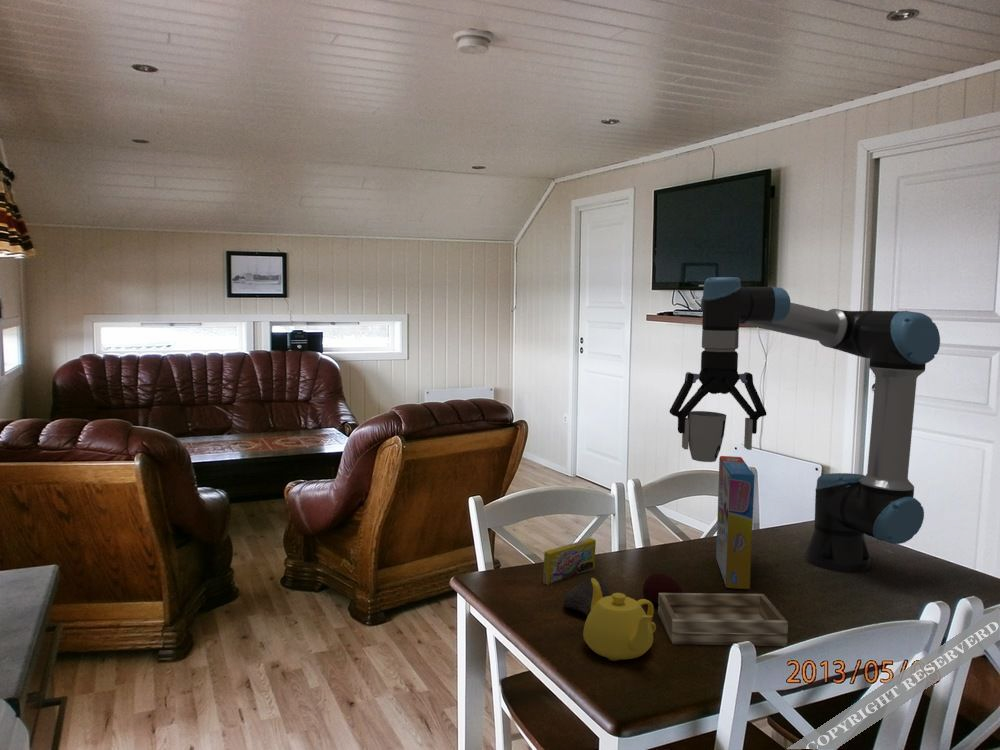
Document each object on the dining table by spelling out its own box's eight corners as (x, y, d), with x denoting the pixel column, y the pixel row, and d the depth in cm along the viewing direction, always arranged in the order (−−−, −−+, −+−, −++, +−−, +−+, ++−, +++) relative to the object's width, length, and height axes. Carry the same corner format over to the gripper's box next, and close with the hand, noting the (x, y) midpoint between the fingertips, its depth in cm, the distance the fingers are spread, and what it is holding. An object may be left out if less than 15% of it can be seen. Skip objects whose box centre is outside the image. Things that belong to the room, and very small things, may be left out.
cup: (726, 464, 157) (729, 417, 156) (686, 462, 158) (690, 415, 157) (719, 456, 165) (722, 412, 164) (682, 454, 166) (685, 410, 165)
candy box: (548, 588, 173) (548, 553, 172) (542, 585, 174) (542, 551, 174) (595, 571, 183) (596, 539, 182) (589, 569, 185) (589, 536, 184)
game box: (750, 590, 172) (755, 474, 169) (725, 589, 173) (730, 473, 170) (737, 559, 192) (741, 455, 189) (715, 558, 193) (719, 455, 190)
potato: (680, 613, 159) (681, 582, 158) (640, 608, 162) (641, 577, 161) (683, 600, 166) (684, 570, 165) (644, 595, 169) (645, 565, 168)
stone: (563, 633, 156) (591, 612, 150) (551, 594, 161) (578, 573, 155) (598, 631, 162) (626, 611, 156) (585, 594, 167) (612, 573, 161)
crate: (762, 616, 158) (763, 593, 157) (786, 647, 144) (788, 622, 143) (658, 615, 158) (658, 592, 157) (672, 646, 144) (673, 621, 143)
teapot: (687, 668, 135) (689, 607, 134) (617, 685, 129) (619, 621, 128) (625, 624, 153) (626, 570, 152) (561, 637, 147) (562, 581, 146)
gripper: (772, 349, 162) (768, 445, 165) (657, 348, 163) (655, 444, 165) (784, 351, 155) (780, 452, 157) (664, 351, 155) (662, 451, 157)
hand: (716, 448), depth 161 cm, fingers open, 13 cm apart
